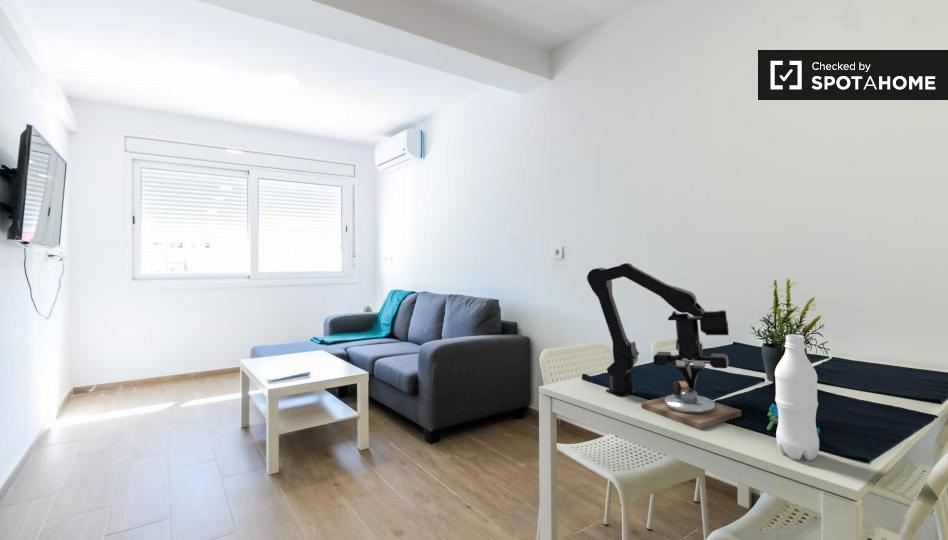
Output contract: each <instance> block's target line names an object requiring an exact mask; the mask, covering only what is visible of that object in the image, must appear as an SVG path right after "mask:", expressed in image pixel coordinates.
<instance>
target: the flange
mask: <svg viewBox="0 0 948 540" xmlns="http://www.w3.org/2000/svg"><path fill="white" fill-rule="evenodd" d="M677 382H680V394H674V393H673V394H674V395H673V394H669V395H670V396H669V395H666V396H667V397H666V398H665V405H666V406H667V407H668V408H670V409H672V410H675V411H679V412H683V413H691V414H704V413H709V412H712V411H714V410H715V403H716V402H715V401H713V400H712V399H710V398H708V397H705V396H701V395H698V392H697V391H696V390H695V389H694V390H691V388H690V386H689V384H688V382H687V380H678V381H677ZM714 402H715V403H714Z"/></svg>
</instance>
